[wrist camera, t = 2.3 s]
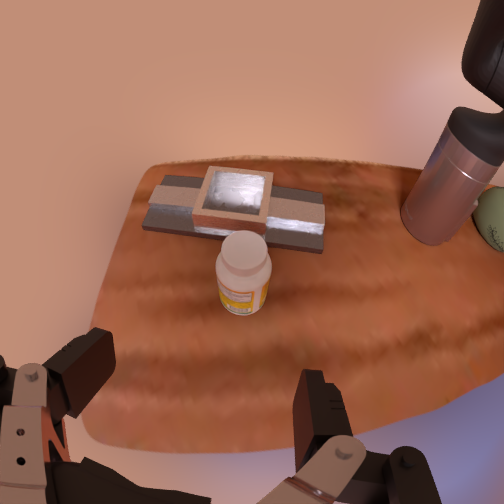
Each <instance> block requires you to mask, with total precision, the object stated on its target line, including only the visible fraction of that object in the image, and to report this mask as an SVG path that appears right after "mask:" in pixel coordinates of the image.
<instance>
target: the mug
mask: <svg viewBox="0 0 504 504" xmlns="http://www.w3.org/2000/svg"><path fill="white" fill-rule="evenodd" d="M477 201H478V206H477V207H476V209H475V210H474V211H473V216H474V220H475V223H476V226H477V228H478V230H479V232H480V234H481V235H482V237H483V238H484V239H485V240H486V242H487V243H488V244H489V245H491V246H492V247H493V248H494V249H496V250H499V251H501V252H504V187H498V186H496V187H492V188H490V189H488V190H486V191H485V192H484V193H483V194H482V195H481V196H480V197H479V198H478V199H477Z"/></svg>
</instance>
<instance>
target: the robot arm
mask: <svg viewBox="0 0 504 504" xmlns="http://www.w3.org/2000/svg"><path fill="white" fill-rule="evenodd" d="M462 72H463V75H464V77H465V79H466V80H467V81H468V82H469V83H470V84H471V85H472V86H473V87H475V88H476V89H477V90H479V91H480V92H482V93H483V94H484V95H486V96H487V97H488V98H490V99H491V100H492V101H494V102H495V103H496V104H498V105H499V106H500V107H502V108H503V111H501V112H500V113H495V114H491V113H484V112H480V111H476V110H473V109H470V108H466V107H456V108H455V109H454V110H453V111H452V113H451V115H450V117H449V120H448V122H447V124H446V126H445V128H444V130H443V132H442V134H441V136H440V139H439V141H438V143H437V145H436V147H435V148H434V151H433V152H432V154H431V156H430V158H429V160H428V162H427V164H426V166H425V167H424V169H423V171H422V173H421V175H420V176H419V178H418V180H417V182H416V183H415V185H414V187H413V189H412V190H411V192H410V194H409V195H408V197H407V199H406V200H405V202H404V204H403V206H402V208H401V218H402V221H403V223H404V225H405V227H406V228H407V229H408V231H409V232H410V233H411V234H412V235H413V236H414V237H415V238H417V239H418V240H419V241H421V242H423V243H425V244H428V245H439V244H441V243H442V242H443V241H449V240H450V239H451V238H452V236H453V235H454V234H455V233H456V232H457V231H458V229H459V228H460V227H461V226H462V225H463V223H464V222H465V221H466V220H467V219H468V217H469V216H470V215H471V214H472V212H473V211H474V210H475V209H476V207H477V206H478V201H477V199H478V197H479V196H480V195H481V193H482V192H483V191H484V189H485V188H486V186H487V185H488V183H489V182H490V180H491V179H492V178H493V176H494V175H495V173H496V172H497V170H498V168H499V167H500V166H501V164H502V163H503V161H504V0H481V1H480V4H479V7H478V10H477V13H476V17H475V19H474V22H473V25H472V28H471V31H470V33H469V36H468V39H467V41H466V44H465V48H464V52H463V56H462ZM115 366H116V359H115V351H114V343H113V335H112V333H111V332H110V331H106V330H103V329H100V328H97V327H95V328H93V329H92V330H91V331H89V332H88V333H87V334H86V335H82V336H79V337H77V338H74V339H73V340H72V341H71V342H69V343H68V344H67V346H66V345H65V346H64V347H63V348H62V349H61V350H59V351H58V352H57V353H56V354H54V355H53V356H52V357H51V358H50V359H49V360H47V361H46V362H45V363H44V364H42V365H40V364H36V363H29V364H25V365H23V366H21V367H20V368H19V369H18V370H17V369H13V368H9V367H6V364H5V361H4V358H3V357H2V356H1V355H0V504H211V498H208V497H203V496H198V495H194V494H189V493H185V492H181V491H176V490H163V489H153V488H144V487H140V486H138V485H136V484H134V483H133V482H131V481H129V480H128V479H126V478H125V477H123V476H122V475H120V474H119V473H117V472H116V471H114V470H113V469H111V468H109V467H106V466H104V465H101V464H99V463H97V462H95V461H93V460H91V459H89V458H86V457H84V459H83V460H82V462H81V463H77V462H71V460H70V456H69V452H68V445H67V438H66V431H65V422H64V419H63V417H64V416H65V415H66V414H67V415H69V416H71V417H73V418H75V419H76V418H77V417H78V416H79V414H80V413H81V412H82V411H83V409H84V408H85V407H86V406H87V404H88V403H89V402H90V401H91V399H92V398H93V397H94V396H95V395H96V393H97V392H98V391H99V390H100V388H101V387H102V386H103V385H104V384H105V382H106V381H107V380H108V379H109V378H110V376H111V375H112V374H113V372H114V370H115ZM293 427H294V445H295V466H296V474H295V475H294V476H293V477H292V478H291V477H288V478H286V479H285V480H284V481H282V482H281V483H280V484H279V485H278V486H277V487H276V488H274V489H273V490H272V491H271V492H270V493H269V494H268V495H266V496H265V497H264V498H263V499H262V500H260V501H259V502H258V503H257V504H333V502H334V501H337V502H342V503H349V504H442V503H441V500H440V497H439V494H438V491H437V488H436V485H435V482H434V479H433V476H432V474H431V471H430V468H429V465H428V463H427V460H426V458H425V456H424V455H423V453H422V452H421V451H419V450H418V449H416V448H414V447H410V446H402V447H399V448H396V449H395V450H394V451H393V452H392V453H391V454H390V455H386V454H380V453H374V452H370V451H367V450H366V449H365V446H364V445H363V443H362V442H360V441H359V440H358V439H356V438H354V437H353V434H352V431H351V427H350V423H349V420H348V416H347V413H346V410H345V406H344V402H343V399H342V395H341V392H340V391H339V389H338V388H337V387H336V386H335V385H334V384H333V383H325V380H324V376H323V372H322V371H321V370H309V369H303V370H302V373H301V376H300V380H299V383H298V387H297V390H296V393H295V397H294V401H293Z"/></svg>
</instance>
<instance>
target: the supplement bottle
mask: <svg viewBox="0 0 504 504" xmlns="http://www.w3.org/2000/svg"><path fill="white" fill-rule="evenodd" d="M267 250H268V249H267V245H266V242H265V241H264V239H263V238H262V237H261V236H260V235H258V234H256V233H254V232H252V231H247V230H242V231H236V232H234V233H232V234H230V235H229V236H227V237H226V239H225V240H224V241H223V244H222V247H221V252H220V253H219V255H218V257H217V260H216V276H217V282H218V289H219V296H220V300H221V302H222V304H223V306H224V307H225V308H226V309H227V310H228V311H230V312H232V313H234V314H237V315H249V314H252V313H254V312H256V311H258V310H259V309H260V308H261V307H262V305H263V304H264V302H265V299H266V295H267V290H268V286H269V281H270V276H271V272H272V262H271V259H270V256H269V254H268V253H267Z"/></svg>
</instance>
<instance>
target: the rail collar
mask: <svg viewBox="0 0 504 504" xmlns="http://www.w3.org/2000/svg"><path fill="white" fill-rule="evenodd" d="M272 181H273V173H272V172H264V171H256V170H247V169H238V168H228V167H217V166H209V168H208V171H207V173H206V176H205V178H197V177H185V176H171V175H165V177H164V179H163V181H162V183H161V185H156V187H155V189H154V191H153V193H152V196H151V198H150V200H149V202H148V204H149V207H150V208H149V210H148V212H147V215H146V217H145V219H144V221H143V223H142V227H143V230H148V231H156V232H164V233H171V234H179V235H187V236H194V237H202V238H209V239H217V240H225V239H226V237H227V236H229V235H230V234H232V233H234V232H236V231H242V230H247V231H252V232H254V233H256V234H258V235H260V236H261V237H262V238H263V239H264V241H265V242H266V245H267V246H268V247H275V248H282V249H290V250H297V251H304V252H311V253H318V254H322V251H323V228H324V226H325V206H324V205H323V197H322V193H318V192H312V191H305V190H299V189H292V188H285V187H278V186H272Z"/></svg>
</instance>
